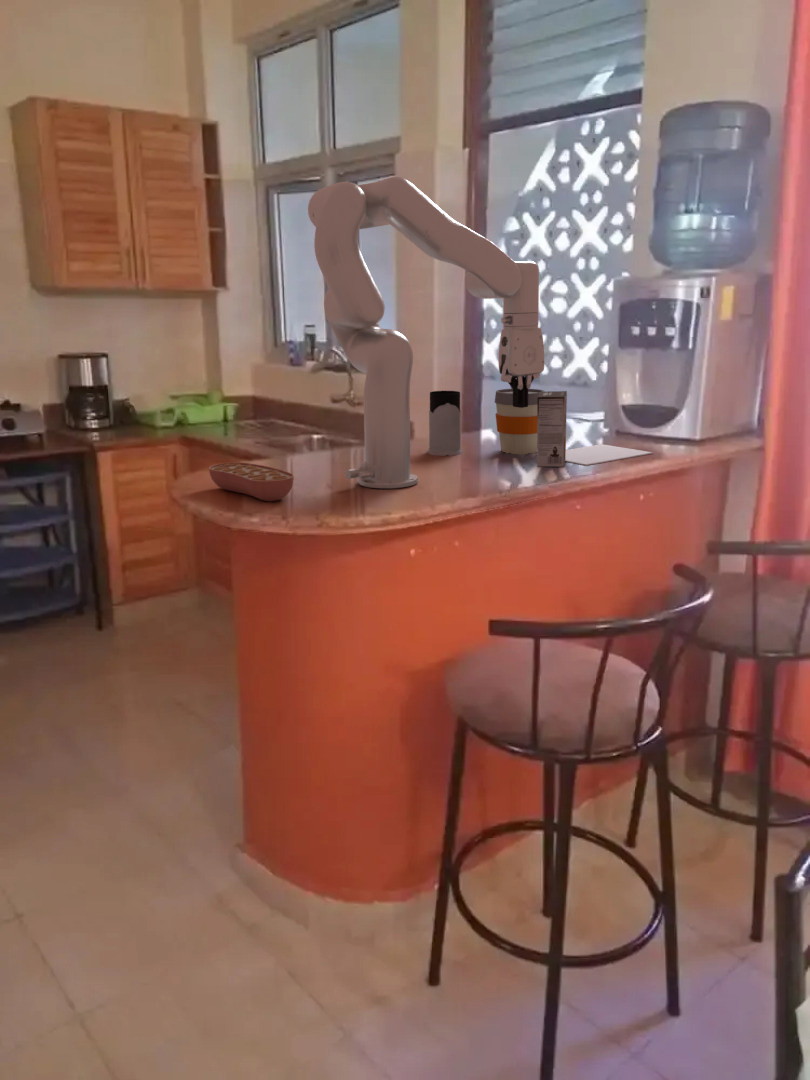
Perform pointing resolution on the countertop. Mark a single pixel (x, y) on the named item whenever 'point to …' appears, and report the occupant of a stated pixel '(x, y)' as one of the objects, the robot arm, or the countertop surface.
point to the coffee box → (551, 428)
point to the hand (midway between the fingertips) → (520, 406)
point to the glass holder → (444, 423)
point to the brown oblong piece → (252, 480)
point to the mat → (600, 454)
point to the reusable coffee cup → (517, 422)
